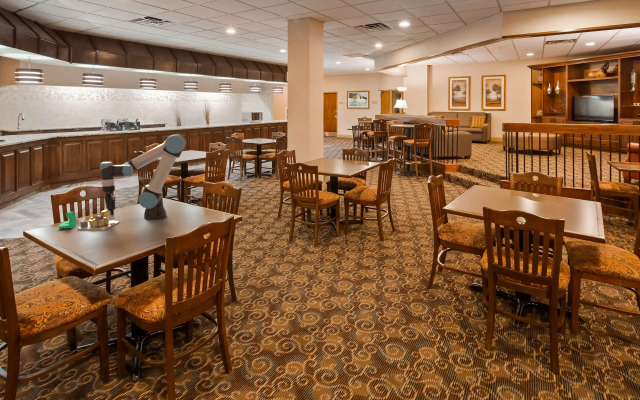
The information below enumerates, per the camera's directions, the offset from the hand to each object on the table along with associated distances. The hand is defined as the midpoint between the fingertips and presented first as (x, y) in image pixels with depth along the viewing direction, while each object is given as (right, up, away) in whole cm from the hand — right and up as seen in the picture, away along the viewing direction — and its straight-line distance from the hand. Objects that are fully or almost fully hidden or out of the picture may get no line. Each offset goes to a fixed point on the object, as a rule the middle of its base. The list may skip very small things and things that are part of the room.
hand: (112, 219), depth 273 cm
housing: (-6, -4, -6) cm, 9 cm away
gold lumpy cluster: (-5, -2, -3) cm, 7 cm away
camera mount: (-25, -5, -8) cm, 27 cm away
